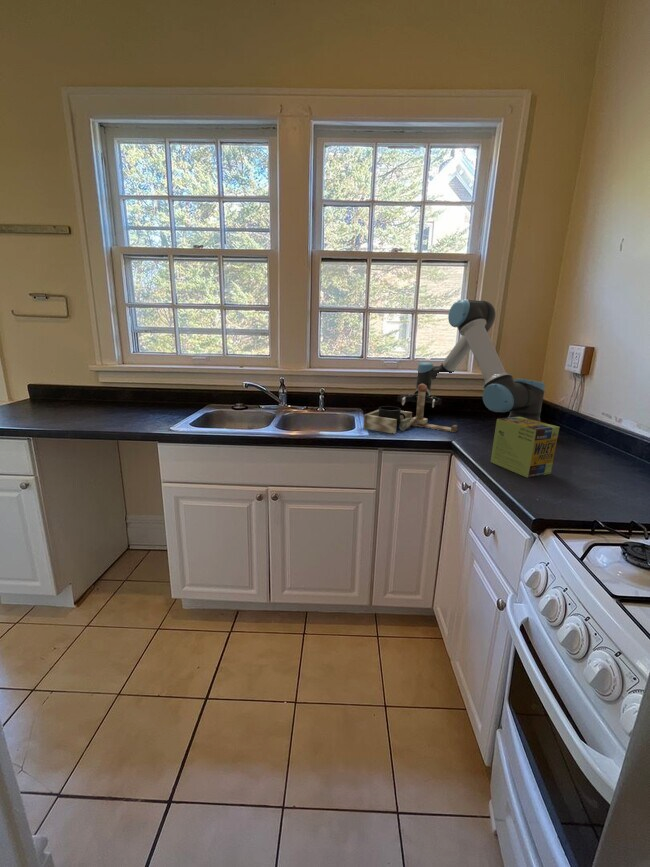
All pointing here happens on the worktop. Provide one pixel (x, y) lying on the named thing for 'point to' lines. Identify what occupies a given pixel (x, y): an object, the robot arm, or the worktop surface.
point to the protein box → (524, 446)
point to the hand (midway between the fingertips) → (417, 403)
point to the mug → (391, 413)
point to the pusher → (420, 410)
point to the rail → (438, 427)
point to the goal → (383, 422)
